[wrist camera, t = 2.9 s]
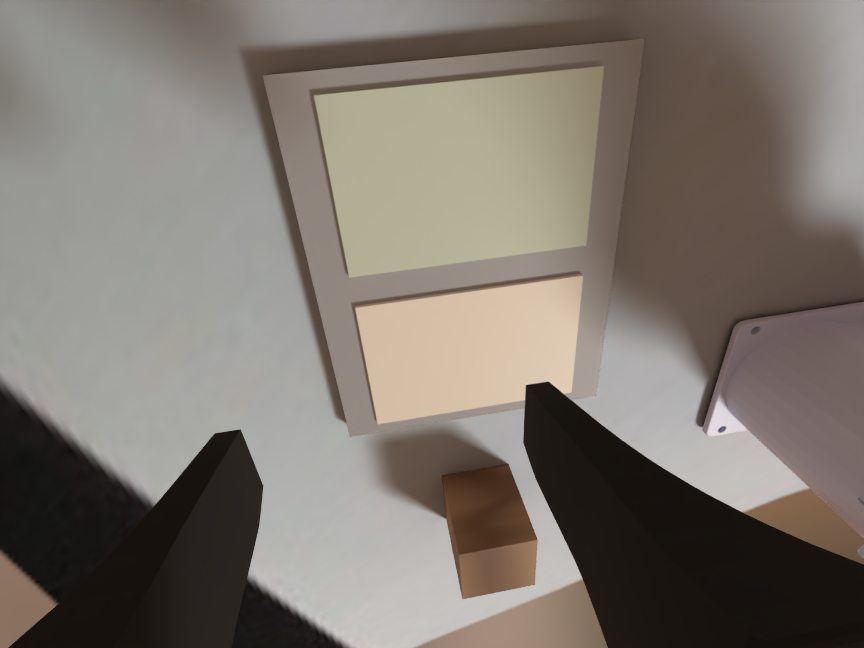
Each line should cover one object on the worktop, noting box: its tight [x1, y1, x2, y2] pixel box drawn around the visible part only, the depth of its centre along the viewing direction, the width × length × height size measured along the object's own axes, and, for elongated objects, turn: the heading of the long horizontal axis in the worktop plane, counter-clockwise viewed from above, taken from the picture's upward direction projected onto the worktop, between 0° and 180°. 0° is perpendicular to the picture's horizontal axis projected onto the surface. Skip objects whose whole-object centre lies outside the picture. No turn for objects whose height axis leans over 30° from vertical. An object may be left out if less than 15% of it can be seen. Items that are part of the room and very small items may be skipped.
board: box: [263, 39, 645, 437], centre depth 19 cm, size 13×16×1 cm
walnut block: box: [442, 464, 537, 599], centre depth 25 cm, size 4×4×5 cm
